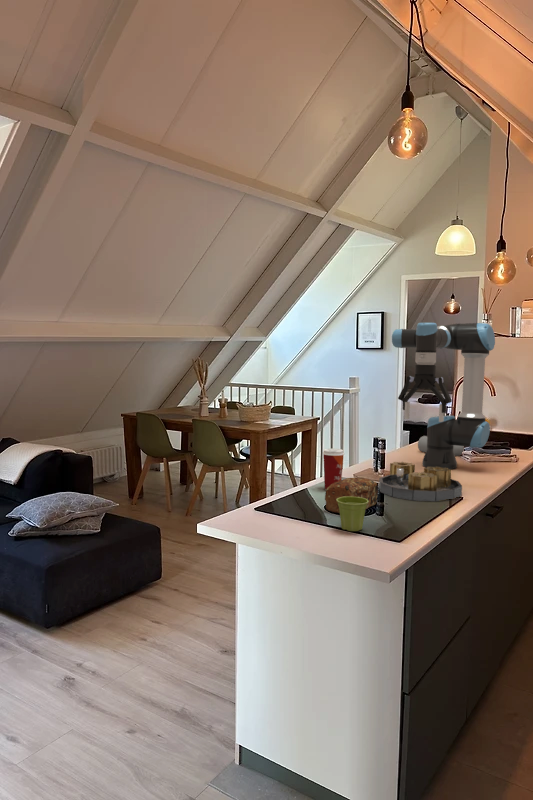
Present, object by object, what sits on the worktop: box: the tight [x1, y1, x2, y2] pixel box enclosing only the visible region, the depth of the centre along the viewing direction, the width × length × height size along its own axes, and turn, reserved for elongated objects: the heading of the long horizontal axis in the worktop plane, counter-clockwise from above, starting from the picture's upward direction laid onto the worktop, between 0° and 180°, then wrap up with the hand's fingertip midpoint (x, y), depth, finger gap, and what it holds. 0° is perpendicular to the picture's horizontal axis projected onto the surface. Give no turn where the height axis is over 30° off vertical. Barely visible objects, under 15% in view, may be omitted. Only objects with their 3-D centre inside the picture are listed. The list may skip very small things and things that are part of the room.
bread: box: [324, 476, 379, 514], centre depth 205 cm, size 19×11×10 cm, turn 142°
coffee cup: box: [322, 448, 345, 490], centre depth 232 cm, size 8×8×15 cm
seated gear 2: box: [423, 466, 452, 487], centre depth 233 cm, size 10×10×6 cm
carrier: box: [378, 468, 463, 502], centre depth 230 cm, size 29×29×8 cm
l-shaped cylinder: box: [417, 435, 465, 457], centre depth 312 cm, size 18×11×20 cm
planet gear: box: [389, 461, 416, 475], centre depth 252 cm, size 10×10×6 cm
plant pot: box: [336, 497, 369, 532], centre depth 181 cm, size 9×9×9 cm
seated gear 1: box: [408, 471, 437, 491], centre depth 222 cm, size 10×10×6 cm
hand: (423, 420), depth 232 cm, fingers open, 13 cm apart
